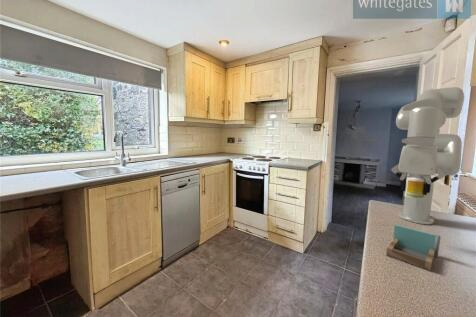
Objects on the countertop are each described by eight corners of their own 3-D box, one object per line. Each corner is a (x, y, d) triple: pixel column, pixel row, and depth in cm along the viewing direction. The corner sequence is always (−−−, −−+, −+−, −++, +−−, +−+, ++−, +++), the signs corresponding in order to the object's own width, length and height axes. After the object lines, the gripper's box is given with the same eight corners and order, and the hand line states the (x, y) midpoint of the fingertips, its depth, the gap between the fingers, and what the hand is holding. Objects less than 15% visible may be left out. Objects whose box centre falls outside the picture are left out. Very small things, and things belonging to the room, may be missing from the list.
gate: (393, 242, 75) (395, 224, 74) (437, 256, 67) (440, 235, 66) (392, 244, 74) (394, 225, 73) (437, 258, 66) (440, 237, 65)
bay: (394, 244, 74) (394, 237, 74) (433, 257, 66) (434, 250, 66) (386, 255, 67) (387, 248, 67) (430, 271, 59) (431, 263, 59)
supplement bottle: (427, 200, 73) (430, 172, 72) (409, 198, 74) (412, 171, 73) (417, 196, 78) (420, 170, 77) (401, 195, 79) (403, 169, 78)
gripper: (388, 141, 78) (383, 189, 80) (454, 143, 65) (446, 200, 67) (393, 142, 83) (388, 186, 85) (455, 143, 70) (448, 196, 72)
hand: (414, 192), depth 76 cm, fingers closed on supplement bottle, 5 cm apart
